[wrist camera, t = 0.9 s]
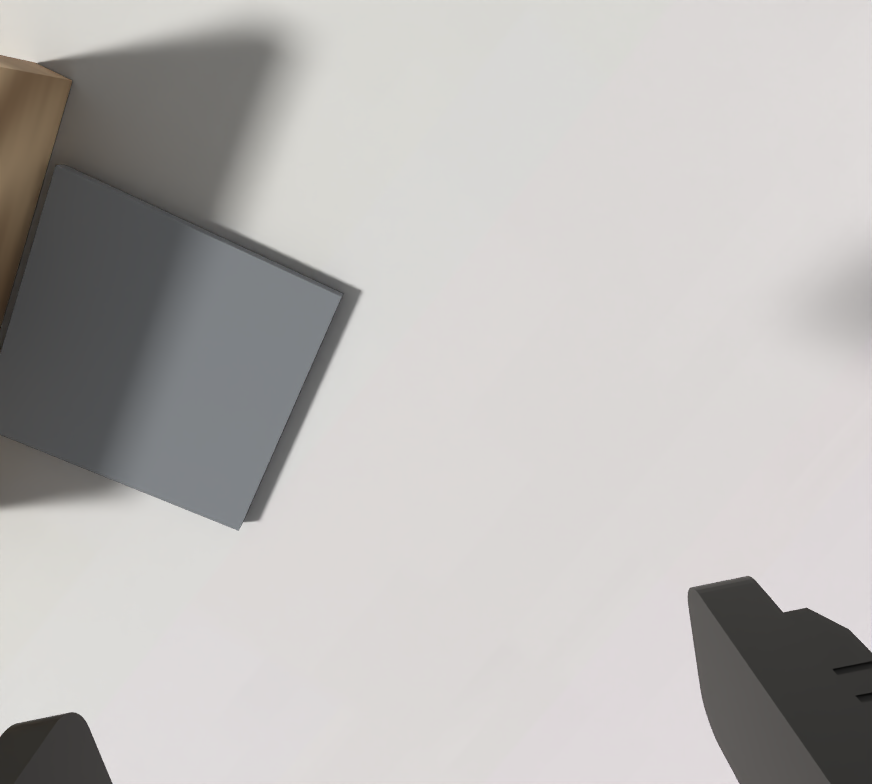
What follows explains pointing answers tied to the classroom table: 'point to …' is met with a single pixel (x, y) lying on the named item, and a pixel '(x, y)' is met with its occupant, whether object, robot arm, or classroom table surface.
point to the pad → (155, 349)
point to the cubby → (24, 153)
